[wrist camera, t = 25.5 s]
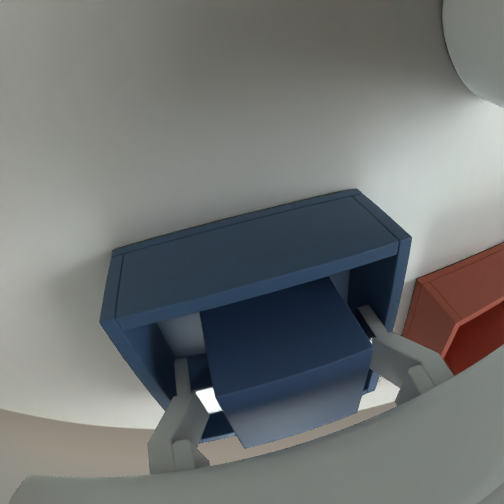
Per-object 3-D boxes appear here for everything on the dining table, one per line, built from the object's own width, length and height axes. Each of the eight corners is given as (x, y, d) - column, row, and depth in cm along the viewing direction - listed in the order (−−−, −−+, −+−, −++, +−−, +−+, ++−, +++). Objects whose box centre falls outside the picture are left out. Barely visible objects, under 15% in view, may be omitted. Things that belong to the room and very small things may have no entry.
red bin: (390, 370, 21) (412, 408, 18) (416, 278, 15) (455, 323, 12) (475, 327, 21) (498, 356, 19) (510, 238, 16) (545, 268, 13)
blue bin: (185, 386, 16) (194, 444, 13) (112, 249, 10) (98, 322, 8) (347, 340, 17) (375, 390, 14) (356, 187, 11) (412, 237, 9)
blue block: (222, 360, 14) (244, 449, 11) (195, 288, 12) (214, 397, 8) (317, 332, 15) (357, 413, 11) (315, 255, 12) (374, 347, 8)
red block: (446, 341, 20) (479, 387, 16) (424, 330, 18) (462, 384, 14) (488, 296, 18) (525, 339, 15) (473, 276, 16) (519, 326, 12)
